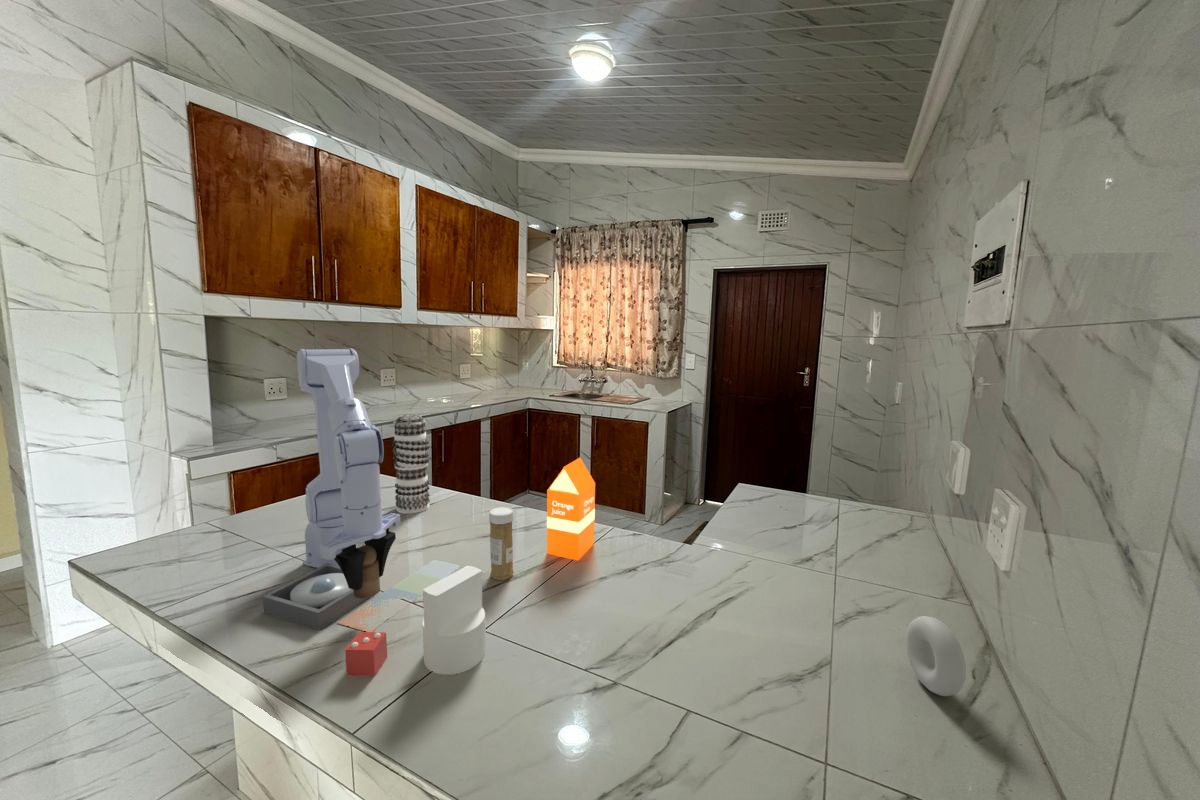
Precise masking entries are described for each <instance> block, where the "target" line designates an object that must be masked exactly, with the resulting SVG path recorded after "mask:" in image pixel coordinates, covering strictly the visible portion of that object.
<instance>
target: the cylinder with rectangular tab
mask: <svg viewBox="0 0 1200 800" xmlns="http://www.w3.org/2000/svg"><path fill="white" fill-rule="evenodd" d="M482 573H483V572H482V570H481V569H480V568H478V567H476V566H472V565H466V566H465V567H462V568H461V569H460V568H459V569H458V570H456V571H454V572H453V573H451V574H450V575H449V576H447V577H445V578H443V579H442V580H440V581H438V582H436V583H434V584H432V585H430V586H428V587H426V588H425V589H423V595H422V599H423V601H422V602H423V603H422V604H423V619H422V644H423V646H422V647H423V663H425V664H424V666H425V665H426V666H425V668H426V669H428V670H429V671H430V672H432V671H433V672H432V673H434V672H435V673H436V674H437V673H439V674H438V675H443V674H445V675H444V676H447V675H446V674H449V675H456V673H457V674H461V672H462V673H464V672H466V671H469V670H471V669H473V668H475V667H476V666H477V665H478V664H479V663H480V662H482V660H483V659H484V657H485V655H486V652H487V651H486V650H487V649H486V648H487V646H486V645H487V644H486V643H487V640H486V639H487V638H486V637H487V636H486V635H487V634H486V610H485V609H484V607H483V583H482V582H483V580H482V579H483V577H482Z"/></svg>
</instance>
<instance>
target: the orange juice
mask: <svg viewBox="0 0 1200 800" xmlns="http://www.w3.org/2000/svg"><path fill="white" fill-rule="evenodd" d="M590 473H591V472H589V470H588V469H587V467H586V465H585V463H584V462H583V460H582V458H581V457H578V458H576V459H575V460H573V461H572V462H569V463H568V464H566V465H565V466H563V468H562V470H561V471H560V472H559V473H558V475H557V477H556V478H555V479H554V480H553V482H552V483H551V484H550V486H549V487H548V489H547V490H546V496H547V498H546V506H547V507H546V508H547V509H546V510H547V511H546V554H547V555H551V556H552V555H553V556H557V557H559V558H560V557H561V558H564V559H569V560H574V561H579V560H580V559H581V558H582V557H583V556H584V555H585V554H586V553H587V552H588V551H589V550H590V549H591V548H592V547H593V546H594V545H595V519H596V518H595V517H596V508H595V507H596V505H595V503H596V482H595V480H594V479H593V477H592V475H591V474H590Z"/></svg>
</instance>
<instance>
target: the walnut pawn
mask: <svg viewBox="0 0 1200 800" xmlns="http://www.w3.org/2000/svg"><path fill="white" fill-rule="evenodd" d="M357 548H358V550H360V551H364V552H367V553H366V555H365V558H364V562H363V569H362V588H361V589H360V590H358V591H357V590H353V593H354V596H355V597H356V598H368V597H370V598H372V597H373V596H375V595H377V594H379V592H380V591H381V582H380V581H381V580H380V579H381V578H380V579H379V562H378V559H376V557H377V553H376V550H375V549H374V548H373V547H372V546H369V545H365V544H364V545H361V546H359V547H357ZM368 599H369V598H368Z"/></svg>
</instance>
